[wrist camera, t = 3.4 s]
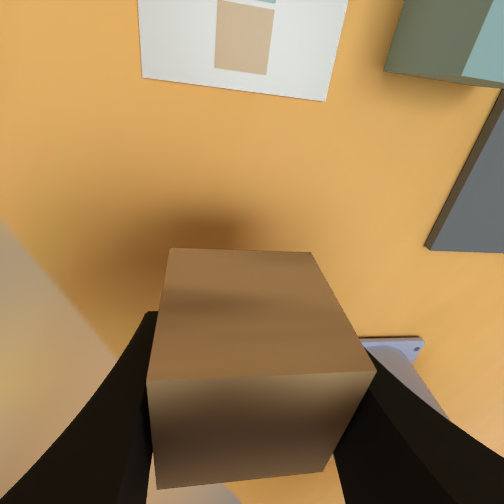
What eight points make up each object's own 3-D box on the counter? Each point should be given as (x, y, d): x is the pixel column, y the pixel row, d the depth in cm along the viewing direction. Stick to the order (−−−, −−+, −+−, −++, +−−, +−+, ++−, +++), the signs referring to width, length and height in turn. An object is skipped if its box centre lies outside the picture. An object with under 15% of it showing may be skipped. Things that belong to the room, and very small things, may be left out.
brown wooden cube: (285, 345, 14) (322, 471, 9) (172, 347, 13) (156, 489, 8) (310, 252, 11) (377, 371, 7) (169, 247, 10) (146, 381, 6)
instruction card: (323, 101, 14) (325, 101, 14) (143, 77, 12) (142, 77, 12) (365, -84, 11) (369, -87, 10) (130, -146, 9) (128, -151, 9)
